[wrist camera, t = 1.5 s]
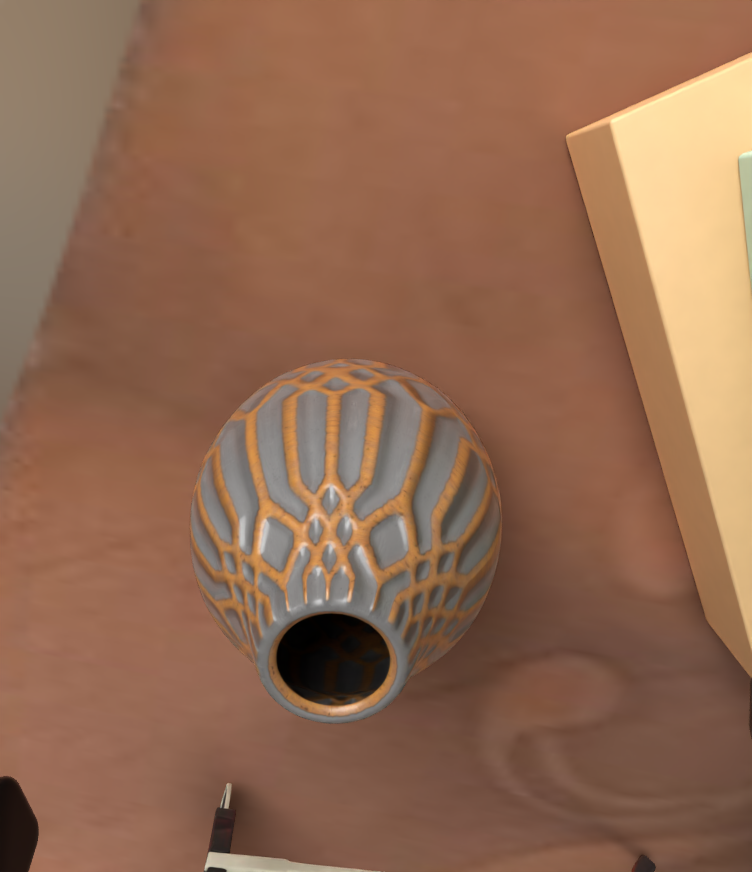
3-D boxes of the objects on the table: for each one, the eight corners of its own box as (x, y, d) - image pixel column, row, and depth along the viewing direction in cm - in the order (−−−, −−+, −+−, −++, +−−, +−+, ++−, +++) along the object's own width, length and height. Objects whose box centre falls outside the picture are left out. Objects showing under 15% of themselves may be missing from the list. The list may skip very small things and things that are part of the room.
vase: (208, 351, 17) (48, 490, 9) (465, 318, 17) (548, 430, 8) (258, 572, 19) (169, 845, 11) (484, 547, 19) (563, 809, 11)
